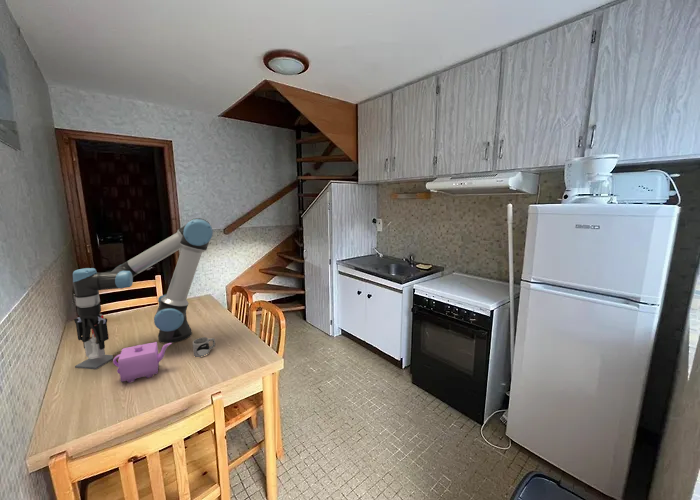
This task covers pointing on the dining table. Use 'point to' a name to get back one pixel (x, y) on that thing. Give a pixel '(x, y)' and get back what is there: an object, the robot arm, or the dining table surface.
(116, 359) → the walnut cube
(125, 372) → the teapot
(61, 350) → the dining table surface
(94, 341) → the chess piece
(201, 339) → the mug
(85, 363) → the coaster
